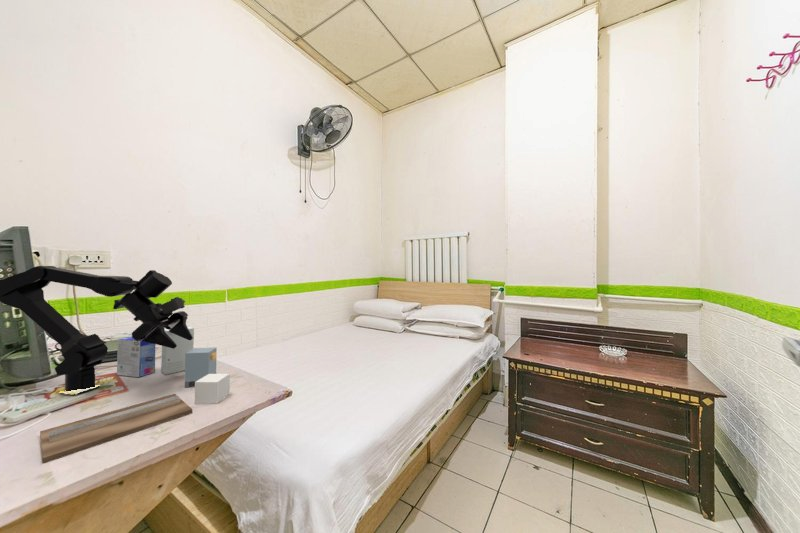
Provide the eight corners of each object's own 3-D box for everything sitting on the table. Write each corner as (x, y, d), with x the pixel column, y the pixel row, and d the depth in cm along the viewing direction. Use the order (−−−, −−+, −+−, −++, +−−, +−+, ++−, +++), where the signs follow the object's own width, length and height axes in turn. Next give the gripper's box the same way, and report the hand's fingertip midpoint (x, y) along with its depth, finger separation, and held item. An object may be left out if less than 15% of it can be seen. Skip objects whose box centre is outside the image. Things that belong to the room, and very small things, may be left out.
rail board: (40, 435, 63) (40, 424, 63) (174, 397, 82) (174, 388, 82) (42, 463, 55) (42, 450, 55) (192, 412, 74) (192, 403, 74)
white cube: (217, 404, 79) (217, 382, 79) (194, 404, 79) (194, 382, 79) (229, 394, 85) (229, 373, 85) (208, 394, 85) (208, 373, 85)
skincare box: (164, 375, 98) (165, 331, 98) (160, 371, 102) (160, 328, 102) (194, 368, 105) (194, 327, 104) (189, 364, 108) (189, 325, 108)
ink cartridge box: (156, 371, 101) (156, 330, 101) (139, 378, 96) (139, 334, 96) (134, 369, 103) (134, 328, 103) (116, 375, 98) (116, 332, 98)
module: (184, 387, 89) (185, 353, 89) (194, 380, 94) (194, 348, 94) (210, 386, 90) (210, 352, 90) (218, 379, 95) (218, 347, 95)
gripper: (144, 292, 81) (188, 331, 83) (181, 287, 99) (217, 318, 101) (111, 321, 79) (157, 360, 81) (155, 310, 98) (191, 342, 100)
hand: (184, 343), depth 91 cm, fingers open, 9 cm apart
